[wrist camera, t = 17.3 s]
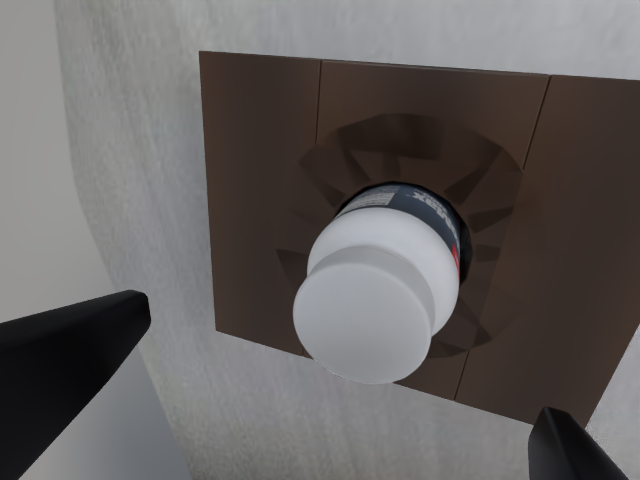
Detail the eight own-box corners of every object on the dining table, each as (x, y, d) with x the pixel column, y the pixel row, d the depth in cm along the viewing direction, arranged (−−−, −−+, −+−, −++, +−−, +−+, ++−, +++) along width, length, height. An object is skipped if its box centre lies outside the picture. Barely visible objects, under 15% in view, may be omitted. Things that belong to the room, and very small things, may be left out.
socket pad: (242, 302, 23) (215, 331, 21) (236, 54, 18) (198, 50, 15) (563, 388, 19) (580, 439, 16) (701, 86, 13) (763, 88, 10)
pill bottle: (478, 254, 17) (490, 392, 10) (378, 286, 20) (324, 416, 12) (432, 150, 16) (405, 213, 9) (332, 197, 19) (242, 278, 11)
